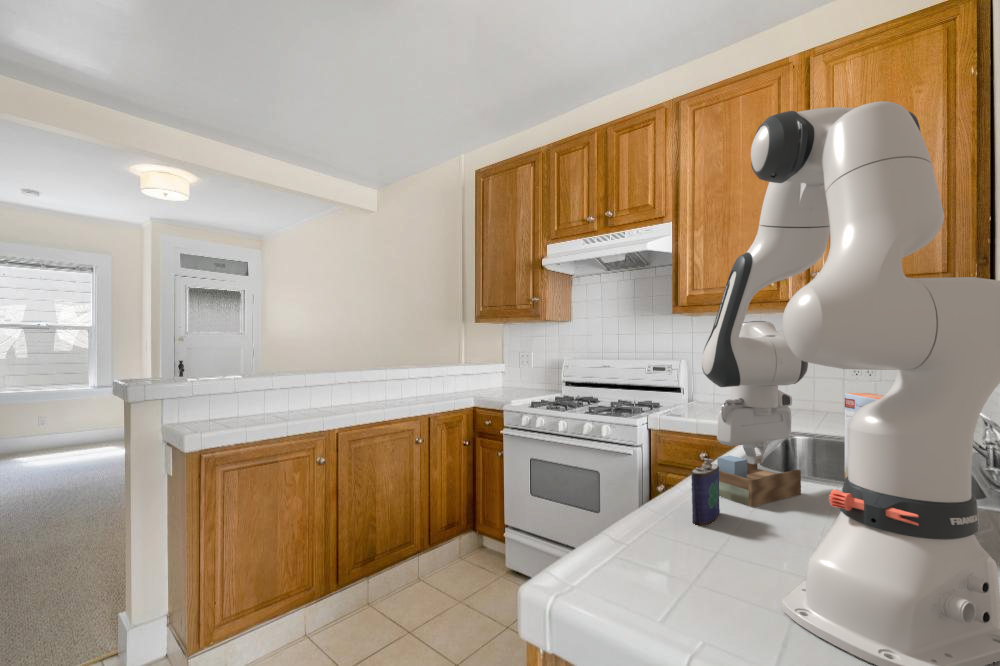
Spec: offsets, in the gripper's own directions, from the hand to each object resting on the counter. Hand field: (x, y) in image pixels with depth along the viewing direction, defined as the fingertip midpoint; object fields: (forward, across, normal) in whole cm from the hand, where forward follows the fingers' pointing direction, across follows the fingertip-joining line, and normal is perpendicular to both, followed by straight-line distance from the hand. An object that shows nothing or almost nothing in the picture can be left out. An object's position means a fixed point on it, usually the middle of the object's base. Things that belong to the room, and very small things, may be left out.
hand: (754, 463), depth 100 cm
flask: (+6, -23, -6) cm, 25 cm away
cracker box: (+6, +14, -16) cm, 22 cm away
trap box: (+6, -3, -1) cm, 6 cm away
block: (+3, -6, +1) cm, 7 cm away
